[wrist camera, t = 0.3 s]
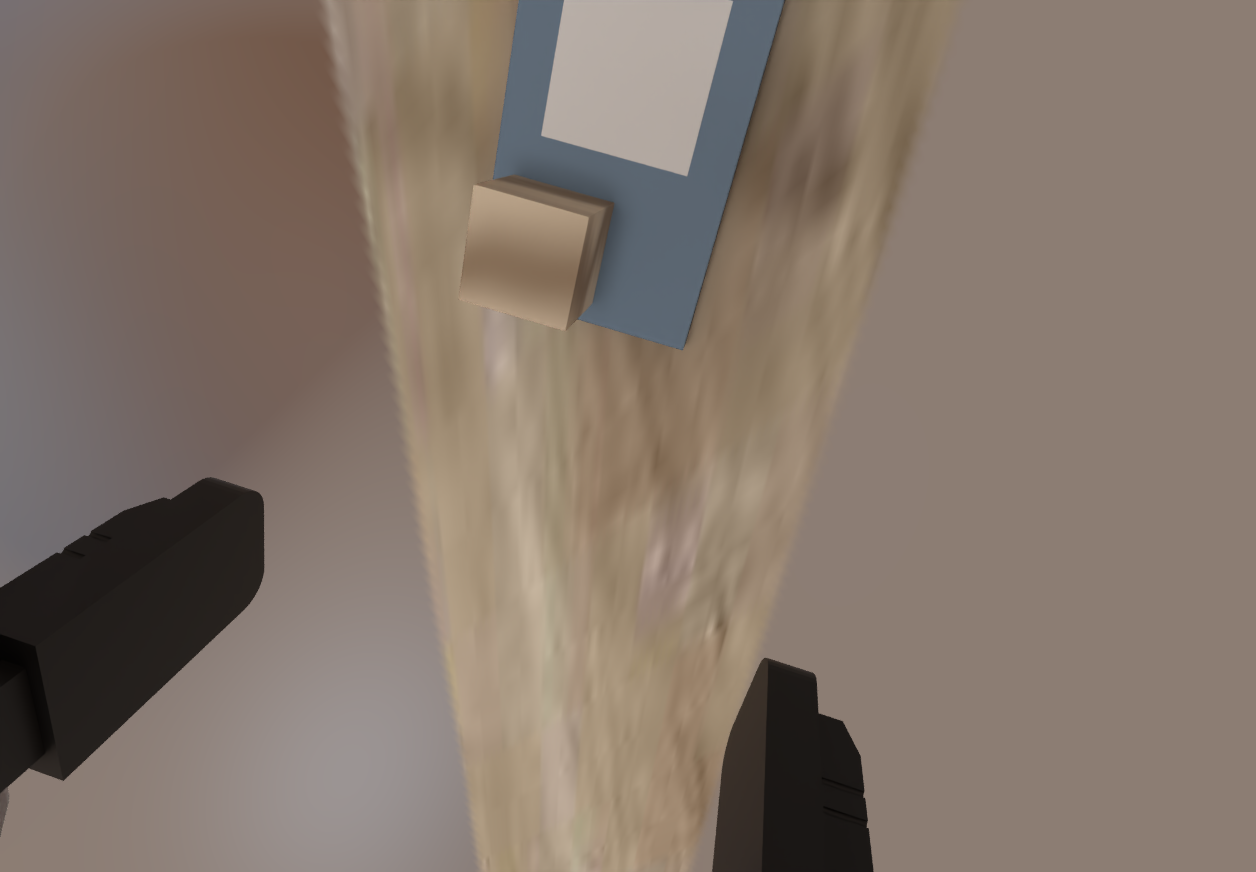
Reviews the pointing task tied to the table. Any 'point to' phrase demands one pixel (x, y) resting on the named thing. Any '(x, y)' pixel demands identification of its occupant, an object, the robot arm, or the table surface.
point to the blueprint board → (638, 135)
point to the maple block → (534, 250)
